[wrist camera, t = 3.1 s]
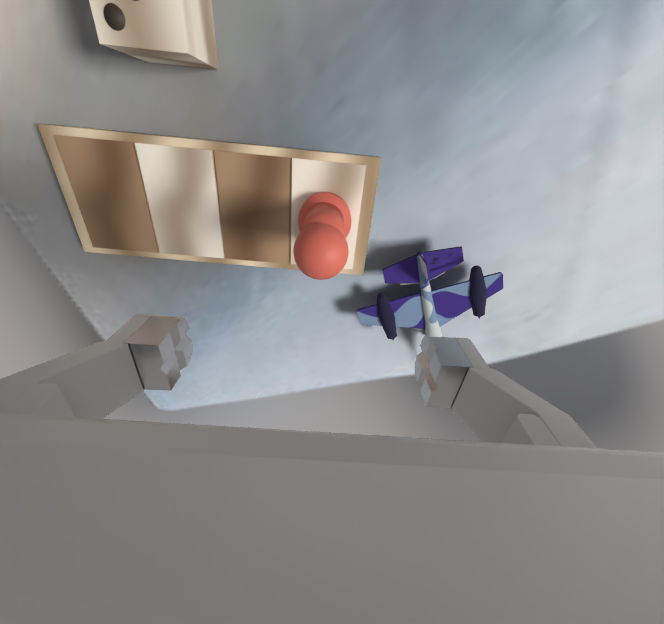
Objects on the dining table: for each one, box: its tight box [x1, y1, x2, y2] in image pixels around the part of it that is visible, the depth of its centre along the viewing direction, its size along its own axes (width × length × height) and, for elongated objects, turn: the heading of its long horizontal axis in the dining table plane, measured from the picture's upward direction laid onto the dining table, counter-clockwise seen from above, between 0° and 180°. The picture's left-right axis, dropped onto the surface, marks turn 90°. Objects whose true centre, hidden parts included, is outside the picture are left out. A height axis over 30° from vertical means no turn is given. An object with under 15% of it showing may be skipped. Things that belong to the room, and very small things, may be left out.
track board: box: [37, 124, 381, 275], centre depth 25 cm, size 26×10×1 cm, turn 85°
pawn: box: [293, 192, 351, 280], centre depth 21 cm, size 4×4×10 cm
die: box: [89, 0, 218, 70], centre depth 18 cm, size 5×5×5 cm
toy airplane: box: [357, 247, 503, 340], centre depth 29 cm, size 13×14×4 cm
